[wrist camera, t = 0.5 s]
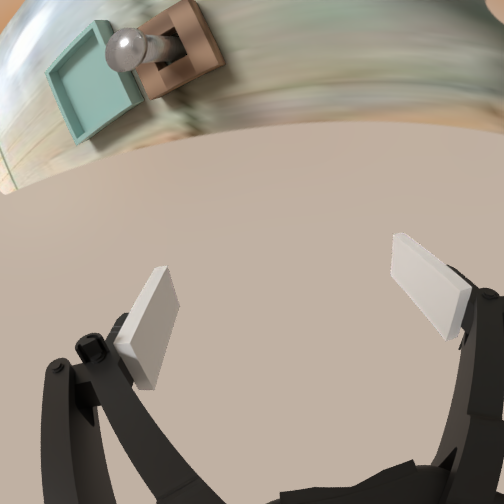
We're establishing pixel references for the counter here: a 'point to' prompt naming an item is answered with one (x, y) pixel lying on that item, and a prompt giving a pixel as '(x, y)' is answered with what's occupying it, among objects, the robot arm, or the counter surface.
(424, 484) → the robot arm
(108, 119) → the tray
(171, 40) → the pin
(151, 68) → the holder
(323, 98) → the counter surface
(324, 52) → the counter surface
